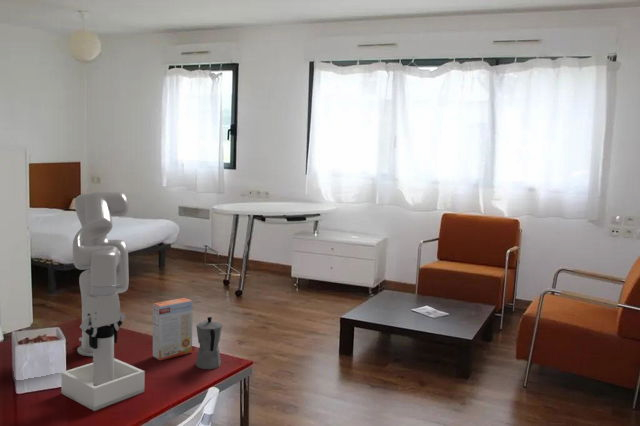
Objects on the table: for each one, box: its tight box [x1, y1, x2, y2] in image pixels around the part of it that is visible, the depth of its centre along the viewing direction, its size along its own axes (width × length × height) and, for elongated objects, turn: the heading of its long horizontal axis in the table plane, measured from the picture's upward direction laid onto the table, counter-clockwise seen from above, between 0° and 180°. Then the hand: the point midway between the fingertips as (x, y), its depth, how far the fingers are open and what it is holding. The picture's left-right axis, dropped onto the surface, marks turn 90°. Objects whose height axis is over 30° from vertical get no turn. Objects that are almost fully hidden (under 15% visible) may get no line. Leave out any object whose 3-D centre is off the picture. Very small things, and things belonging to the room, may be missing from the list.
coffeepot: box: [195, 316, 223, 370], centre depth 210 cm, size 15×9×18 cm, turn 20°
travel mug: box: [92, 325, 115, 386], centre depth 184 cm, size 6×7×20 cm
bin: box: [60, 357, 146, 412], centre depth 185 cm, size 18×18×7 cm
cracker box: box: [152, 297, 194, 361], centre depth 219 cm, size 14×6×21 cm, turn 133°
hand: (103, 344), depth 184 cm, fingers closed on travel mug, 6 cm apart
